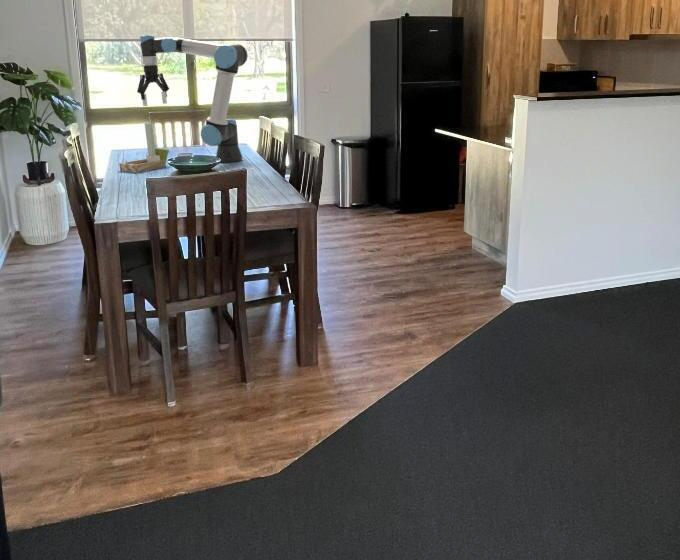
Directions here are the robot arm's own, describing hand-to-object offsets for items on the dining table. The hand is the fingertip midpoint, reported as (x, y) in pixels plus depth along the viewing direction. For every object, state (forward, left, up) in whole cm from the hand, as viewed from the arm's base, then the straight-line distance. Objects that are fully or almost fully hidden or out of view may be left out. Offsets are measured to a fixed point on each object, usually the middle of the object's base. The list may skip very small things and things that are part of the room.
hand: (155, 104), depth 408 cm
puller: (-6, +10, -33) cm, 34 cm away
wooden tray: (-6, +17, -33) cm, 37 cm away
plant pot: (-6, +6, -32) cm, 33 cm away
